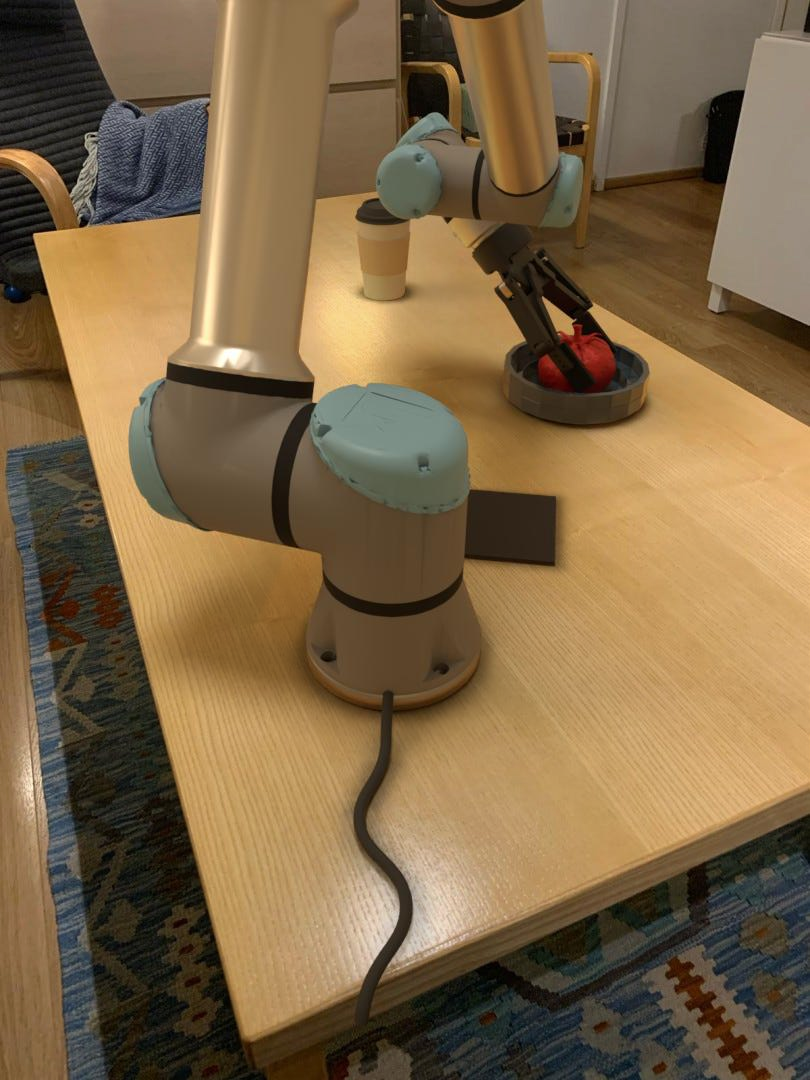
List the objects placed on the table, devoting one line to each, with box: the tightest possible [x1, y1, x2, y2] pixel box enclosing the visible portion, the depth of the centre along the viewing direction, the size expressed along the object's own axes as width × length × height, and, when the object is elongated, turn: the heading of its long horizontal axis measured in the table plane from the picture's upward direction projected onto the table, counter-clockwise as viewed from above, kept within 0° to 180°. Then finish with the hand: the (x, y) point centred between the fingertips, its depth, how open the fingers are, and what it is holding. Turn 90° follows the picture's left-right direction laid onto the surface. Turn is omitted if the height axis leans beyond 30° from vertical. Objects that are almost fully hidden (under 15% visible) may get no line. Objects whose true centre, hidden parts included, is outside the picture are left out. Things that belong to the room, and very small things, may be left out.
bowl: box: [502, 334, 651, 425], centre depth 116 cm, size 19×19×4 cm
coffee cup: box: [354, 197, 411, 301], centre depth 142 cm, size 9×9×15 cm
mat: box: [464, 488, 557, 566], centre depth 92 cm, size 12×12×1 cm
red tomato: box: [538, 324, 616, 394], centre depth 114 cm, size 10×10×9 cm
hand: (598, 371), depth 114 cm, fingers closed on red tomato, 10 cm apart
